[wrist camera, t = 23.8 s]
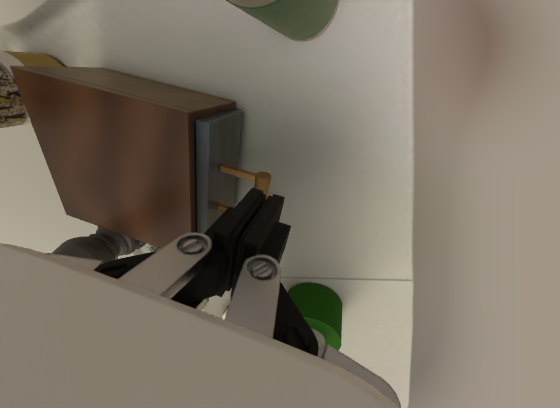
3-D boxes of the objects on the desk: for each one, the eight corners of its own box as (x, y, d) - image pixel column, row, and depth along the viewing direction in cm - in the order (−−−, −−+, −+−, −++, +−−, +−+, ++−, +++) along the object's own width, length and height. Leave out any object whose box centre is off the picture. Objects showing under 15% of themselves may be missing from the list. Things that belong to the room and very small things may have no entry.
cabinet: (236, 101, 23) (187, 112, 16) (226, 217, 31) (191, 259, 24) (103, 67, 25) (8, 65, 18) (125, 185, 33) (66, 214, 26)
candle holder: (125, 225, 37) (-162, 419, 16) (124, 195, 34) (-237, 391, 13) (159, 241, 37) (-87, 459, 16) (161, 213, 34) (-145, 441, 13)
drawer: (290, 123, 22) (271, 139, 17) (268, 231, 29) (249, 267, 24) (115, 78, 24) (49, 80, 19) (134, 188, 32) (90, 212, 26)
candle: (333, 326, 36) (328, 402, 28) (283, 309, 37) (264, 377, 29) (349, 294, 32) (350, 372, 24) (293, 275, 33) (274, 344, 25)
